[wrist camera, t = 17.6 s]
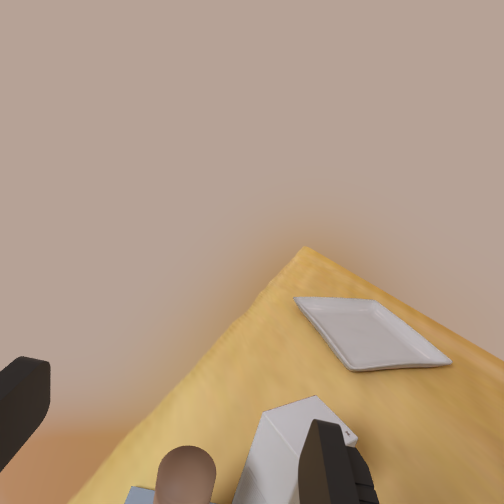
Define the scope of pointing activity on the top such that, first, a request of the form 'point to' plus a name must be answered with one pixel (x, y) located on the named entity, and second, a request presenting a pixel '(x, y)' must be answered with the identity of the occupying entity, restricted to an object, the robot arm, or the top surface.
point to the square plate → (368, 334)
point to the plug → (185, 477)
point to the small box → (282, 452)
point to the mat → (141, 496)
